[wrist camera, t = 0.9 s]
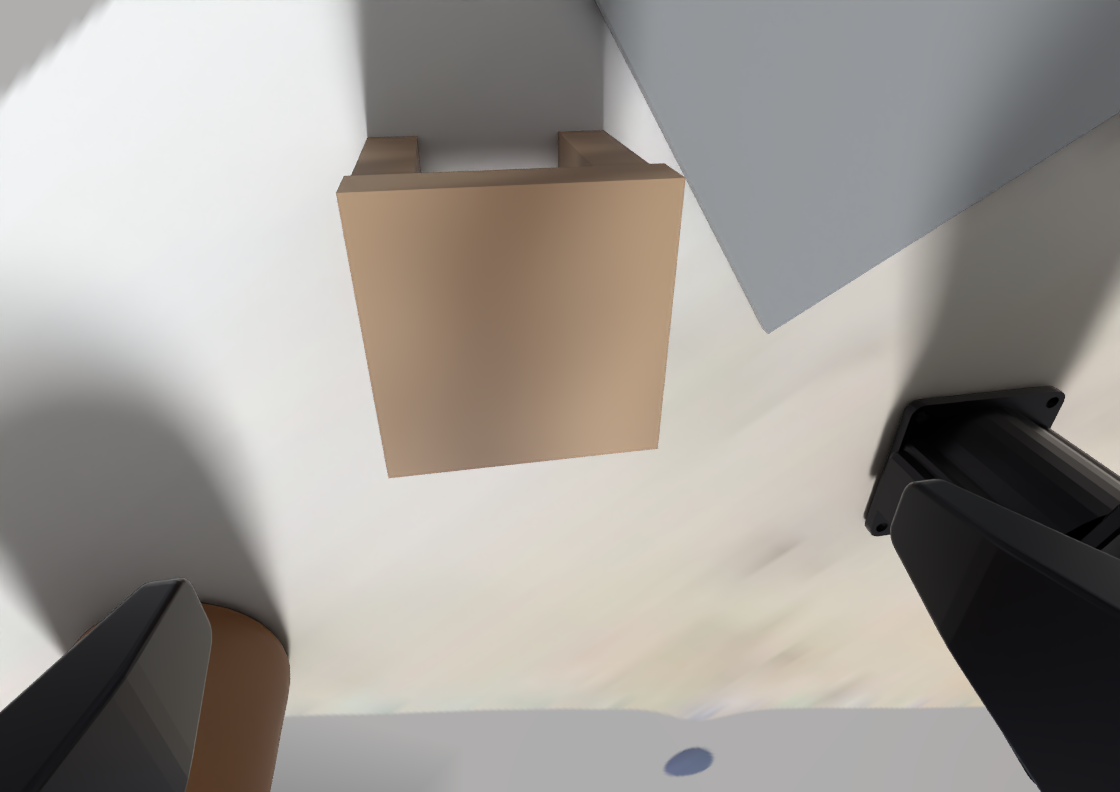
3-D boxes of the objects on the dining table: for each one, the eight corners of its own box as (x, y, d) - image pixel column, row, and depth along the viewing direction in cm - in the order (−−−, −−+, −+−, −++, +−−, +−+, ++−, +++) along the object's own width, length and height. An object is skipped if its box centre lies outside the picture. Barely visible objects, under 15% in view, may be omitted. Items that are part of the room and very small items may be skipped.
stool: (603, 122, 16) (685, 177, 11) (596, 330, 20) (657, 448, 14) (366, 128, 16) (336, 192, 10) (398, 346, 19) (388, 478, 14)
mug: (-115, 641, 21) (-439, 1024, 13) (-8, 500, 19) (-314, 852, 11) (226, 740, 27) (143, 1048, 19) (335, 640, 25) (293, 937, 17)
